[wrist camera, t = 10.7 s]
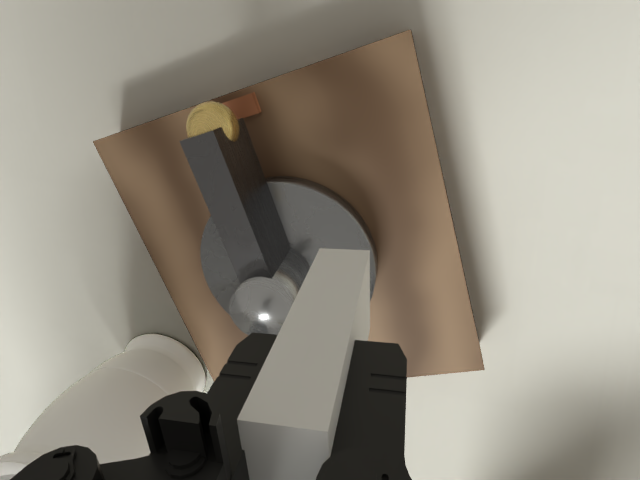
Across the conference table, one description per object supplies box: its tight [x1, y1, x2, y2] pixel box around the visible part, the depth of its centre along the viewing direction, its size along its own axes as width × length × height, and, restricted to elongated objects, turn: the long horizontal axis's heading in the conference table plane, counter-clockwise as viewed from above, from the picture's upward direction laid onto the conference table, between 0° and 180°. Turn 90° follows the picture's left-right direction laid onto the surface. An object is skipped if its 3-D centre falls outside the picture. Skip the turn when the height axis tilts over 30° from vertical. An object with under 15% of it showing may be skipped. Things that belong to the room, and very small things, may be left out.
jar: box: [0, 334, 206, 480], centre depth 35 cm, size 11×10×15 cm
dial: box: [179, 101, 378, 335], centre depth 26 cm, size 17×12×7 cm
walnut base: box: [93, 30, 484, 381], centre depth 31 cm, size 22×23×4 cm
